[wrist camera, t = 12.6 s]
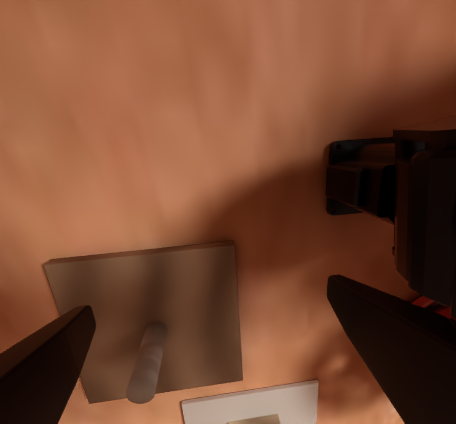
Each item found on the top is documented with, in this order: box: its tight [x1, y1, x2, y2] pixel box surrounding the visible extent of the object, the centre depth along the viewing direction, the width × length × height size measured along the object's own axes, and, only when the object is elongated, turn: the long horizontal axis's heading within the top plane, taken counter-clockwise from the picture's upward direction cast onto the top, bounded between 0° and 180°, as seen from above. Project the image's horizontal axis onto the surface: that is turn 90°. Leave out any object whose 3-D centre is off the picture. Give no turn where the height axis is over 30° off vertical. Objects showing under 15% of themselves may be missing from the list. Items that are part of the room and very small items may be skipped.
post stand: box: [44, 241, 243, 404], centre depth 19 cm, size 16×16×7 cm
